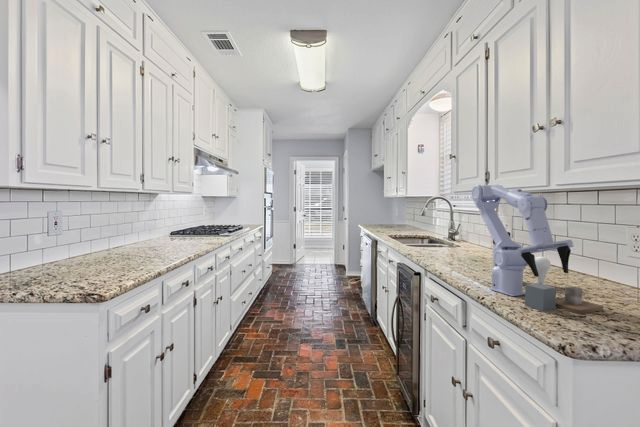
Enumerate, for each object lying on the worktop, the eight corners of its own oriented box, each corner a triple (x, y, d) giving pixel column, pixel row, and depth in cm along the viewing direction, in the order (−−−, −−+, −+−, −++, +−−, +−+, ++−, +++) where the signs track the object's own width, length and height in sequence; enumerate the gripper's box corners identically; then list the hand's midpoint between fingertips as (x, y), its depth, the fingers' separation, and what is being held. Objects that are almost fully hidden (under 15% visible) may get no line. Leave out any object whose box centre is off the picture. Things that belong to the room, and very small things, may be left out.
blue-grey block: (524, 305, 100) (525, 284, 99) (537, 303, 102) (537, 283, 101) (543, 311, 94) (543, 289, 94) (555, 308, 96) (556, 287, 96)
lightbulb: (532, 281, 130) (533, 254, 129) (550, 283, 126) (551, 256, 125) (530, 284, 125) (531, 256, 125) (549, 287, 121) (550, 258, 121)
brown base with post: (544, 304, 101) (545, 285, 101) (566, 300, 105) (567, 282, 105) (580, 314, 92) (580, 294, 92) (602, 309, 96) (603, 290, 96)
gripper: (509, 234, 103) (519, 276, 98) (563, 223, 93) (577, 269, 88) (517, 237, 107) (527, 278, 103) (569, 227, 97) (583, 272, 92)
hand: (551, 274), depth 96 cm, fingers open, 7 cm apart
